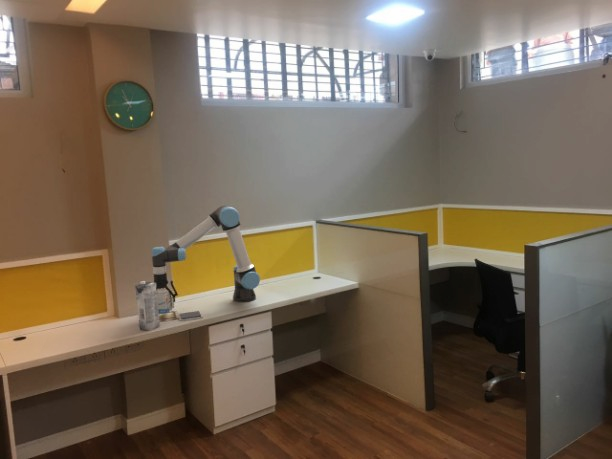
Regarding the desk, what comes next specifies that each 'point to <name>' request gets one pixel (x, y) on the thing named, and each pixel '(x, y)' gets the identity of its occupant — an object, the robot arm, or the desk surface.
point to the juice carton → (147, 305)
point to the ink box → (164, 301)
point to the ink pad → (190, 315)
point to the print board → (168, 316)
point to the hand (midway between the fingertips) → (163, 308)
